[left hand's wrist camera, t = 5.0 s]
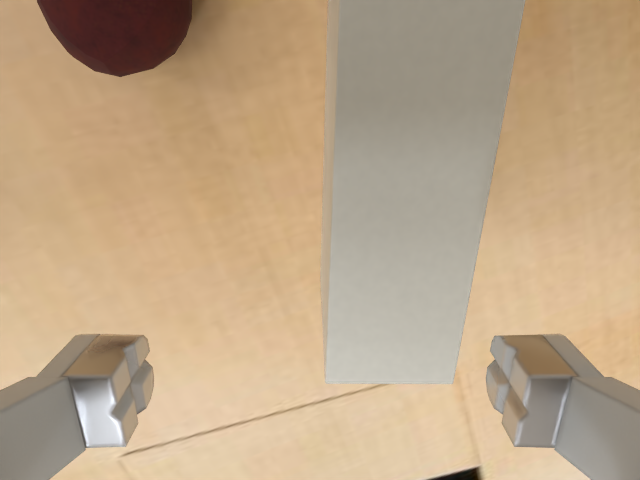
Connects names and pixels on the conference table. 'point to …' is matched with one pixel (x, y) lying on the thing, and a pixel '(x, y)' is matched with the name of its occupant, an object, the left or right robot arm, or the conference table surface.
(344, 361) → the bar
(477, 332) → the conference table surface
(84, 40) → the dark red plum
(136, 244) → the conference table surface
